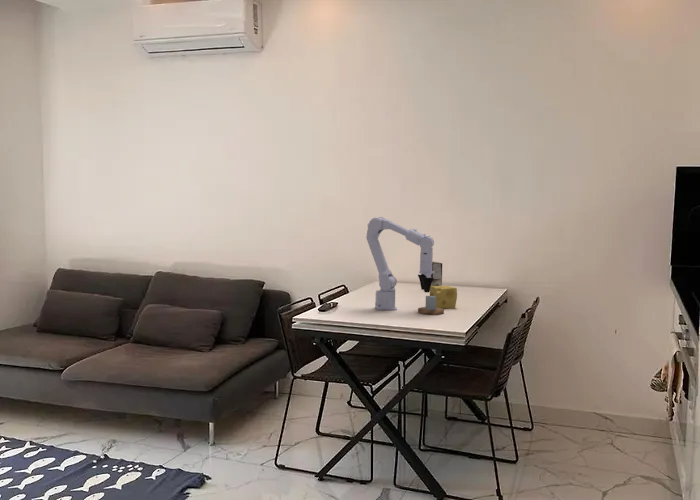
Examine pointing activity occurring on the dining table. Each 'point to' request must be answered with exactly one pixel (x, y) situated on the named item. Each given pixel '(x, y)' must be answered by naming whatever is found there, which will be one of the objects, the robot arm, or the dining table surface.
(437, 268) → the coffee box
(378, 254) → the robot arm
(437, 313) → the disc
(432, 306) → the block
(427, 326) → the dining table surface
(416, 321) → the dining table surface
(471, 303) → the dining table surface
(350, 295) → the dining table surface
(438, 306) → the cheese
